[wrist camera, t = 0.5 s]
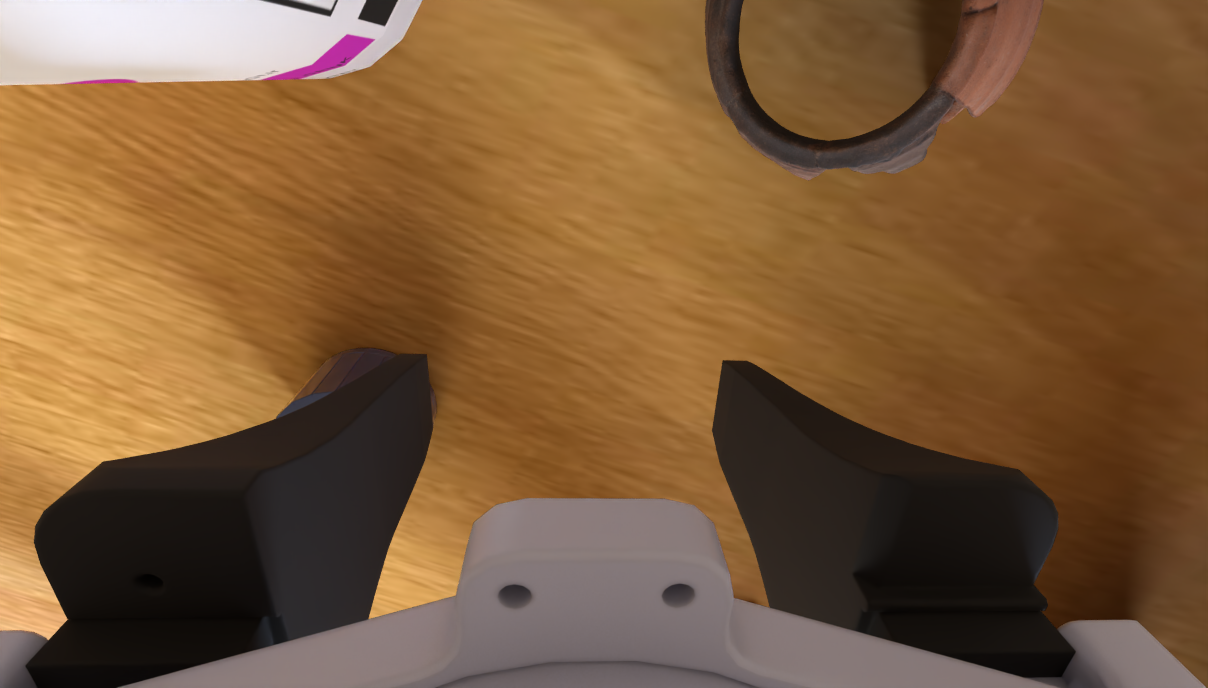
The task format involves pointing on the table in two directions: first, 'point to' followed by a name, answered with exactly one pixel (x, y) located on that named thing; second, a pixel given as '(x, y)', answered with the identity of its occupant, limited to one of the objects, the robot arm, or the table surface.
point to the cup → (341, 377)
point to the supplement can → (194, 39)
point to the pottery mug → (967, 79)
